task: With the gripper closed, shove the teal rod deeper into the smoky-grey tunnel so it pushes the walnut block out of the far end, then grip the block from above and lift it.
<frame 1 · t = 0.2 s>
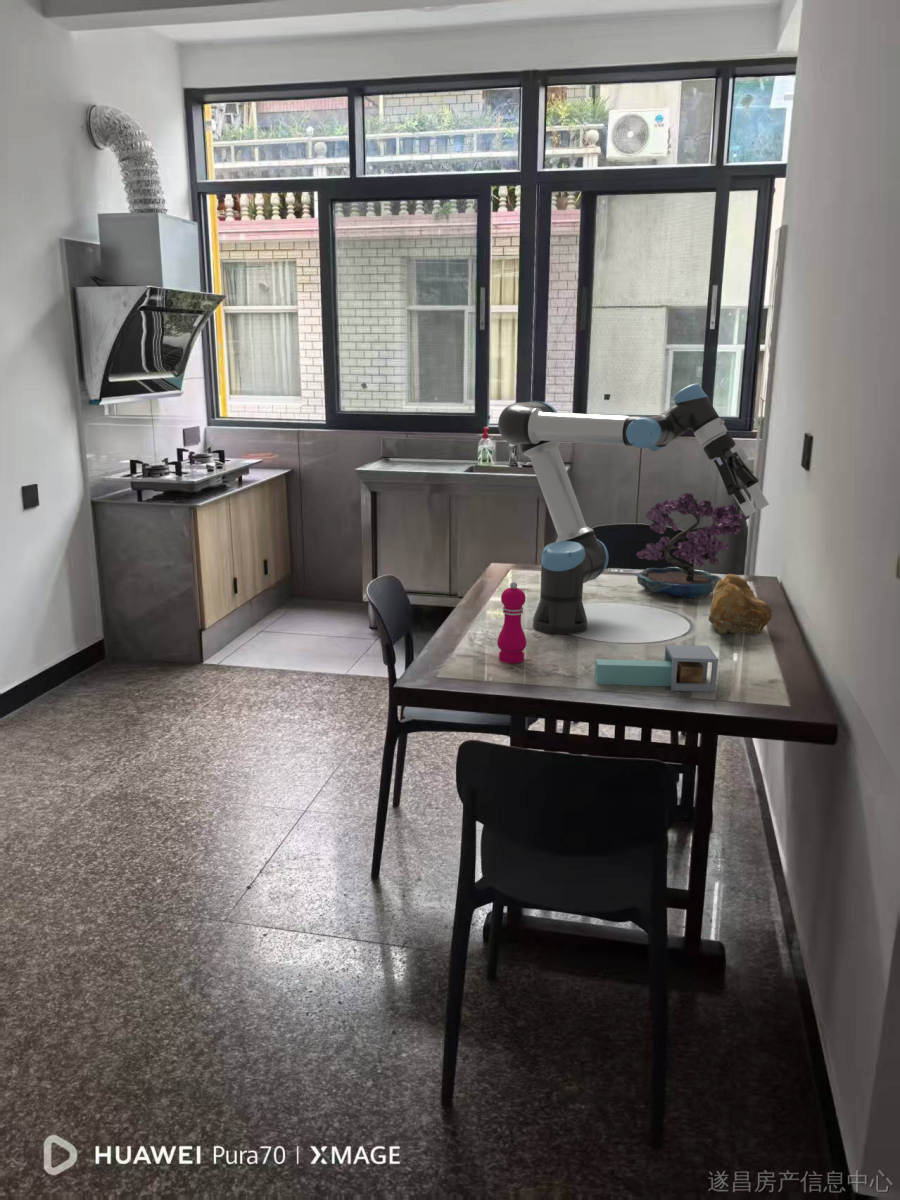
hand: (758, 510, 234), 36 cm above the table, tool tilted 35°, fingers open, 13 cm apart
teal rod: (634, 683, 213), on the table
pepper mill: (511, 660, 228), on the table
walnut block: (688, 684, 213), on the table
tunnel: (688, 683, 213), on the table
bonsai tree: (687, 593, 297), on the table
rough brown rock: (738, 630, 256), on the table
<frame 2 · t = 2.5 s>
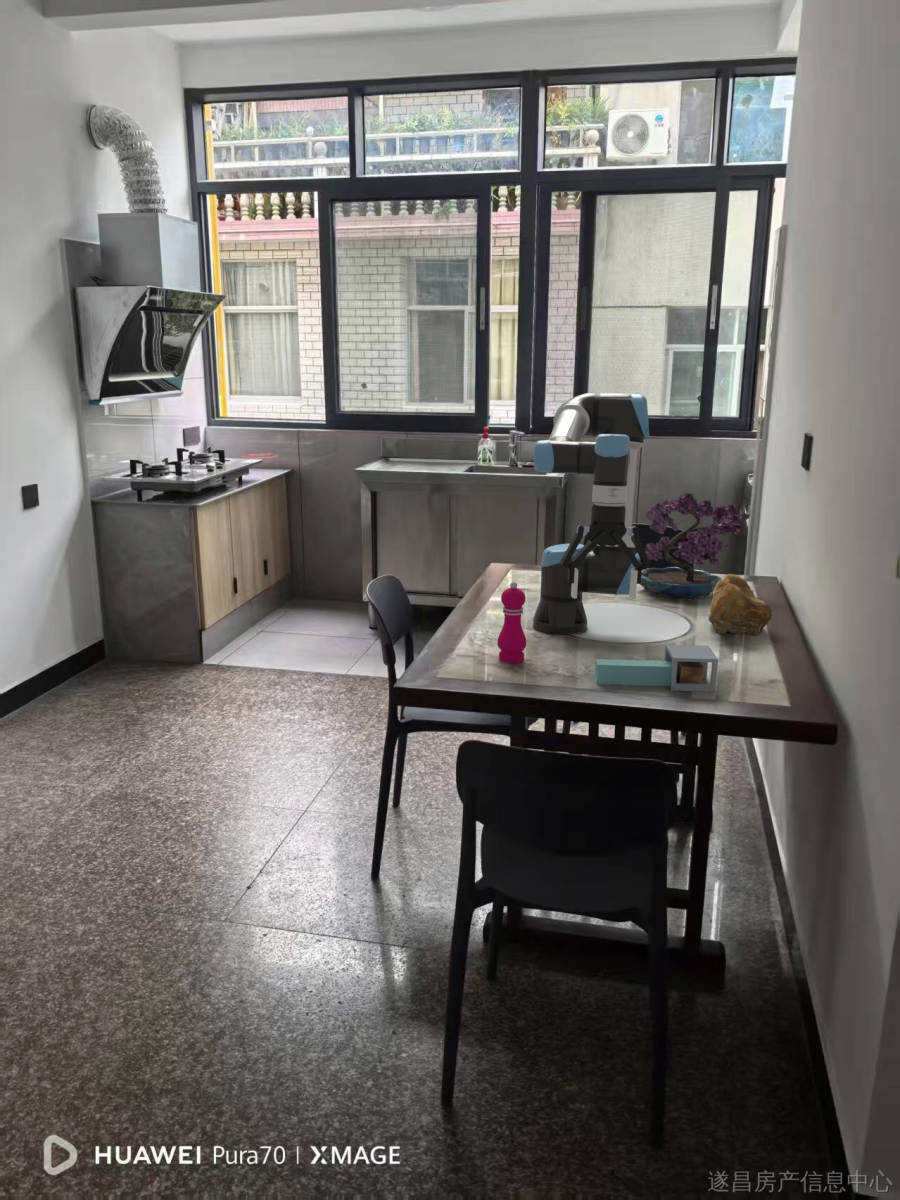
hand: (603, 597, 208), 20 cm above the table, tool pointing down, fingers open, 13 cm apart
nothing on the table moved.
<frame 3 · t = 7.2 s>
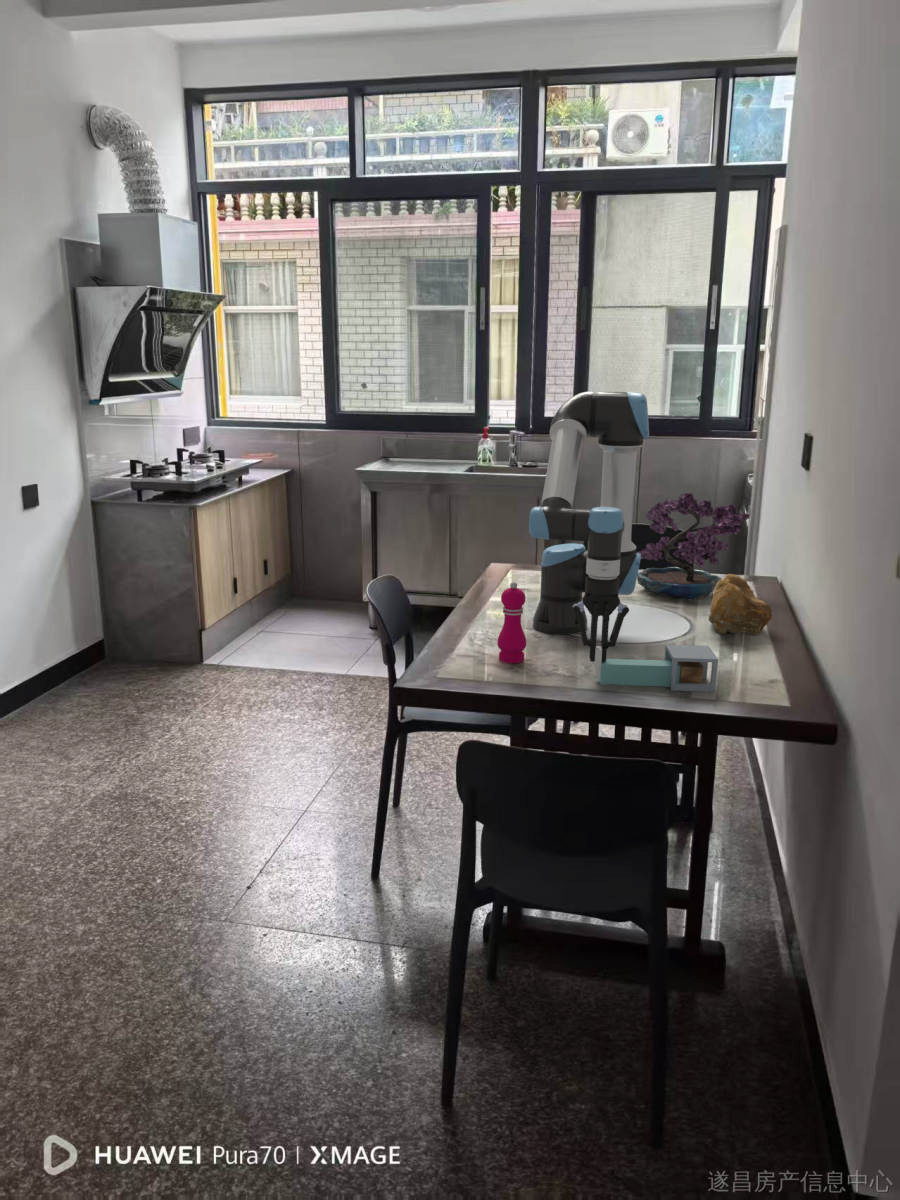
hand: (596, 674, 213), 2 cm above the table, tool pointing down, fingers closed
teal rod: (638, 682, 213), on the table, touching gripper
everything else where it was.
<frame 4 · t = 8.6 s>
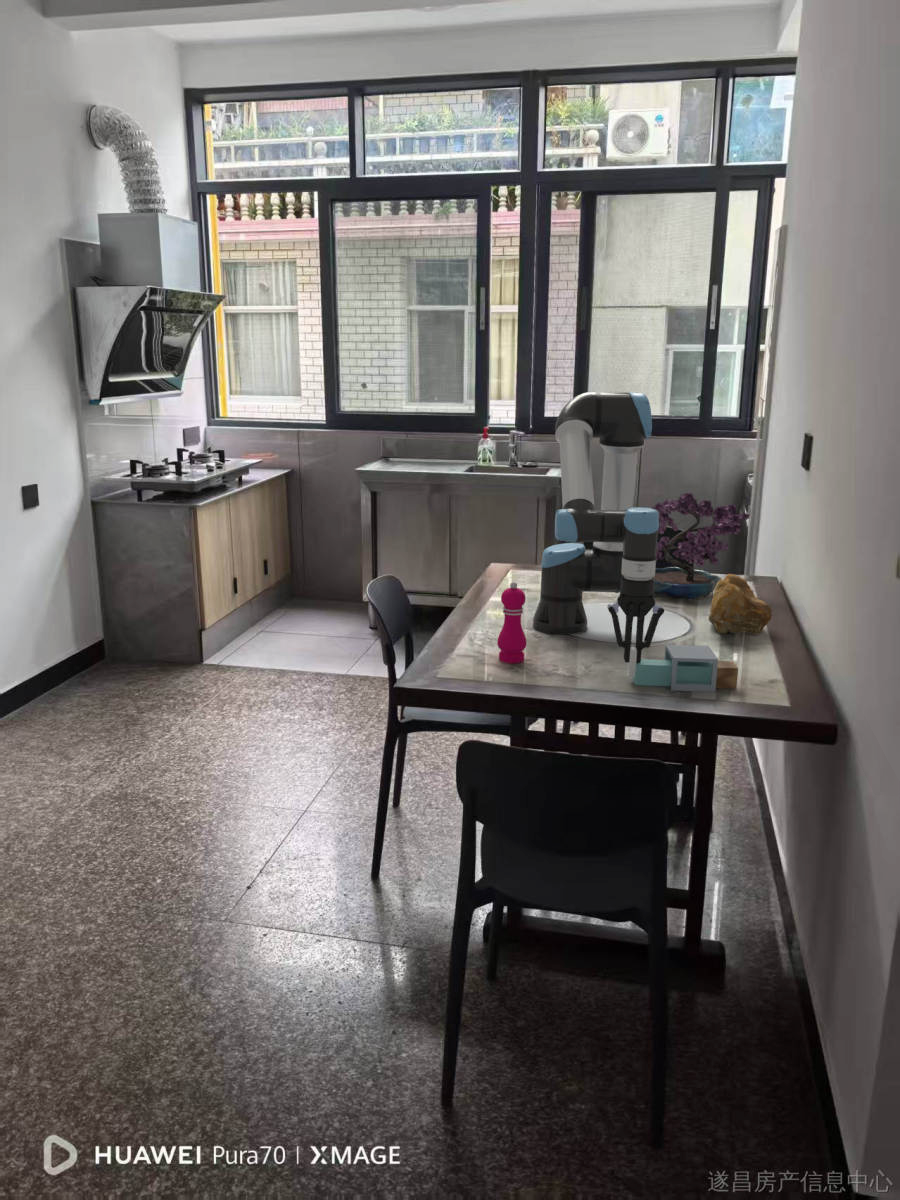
hand: (631, 675, 213), 2 cm above the table, tool pointing down, fingers closed
teal rod: (672, 683, 213), on the table, touching gripper, walnut block
walnut block: (722, 684, 212), on the table, touching teal rod
everything else where it was.
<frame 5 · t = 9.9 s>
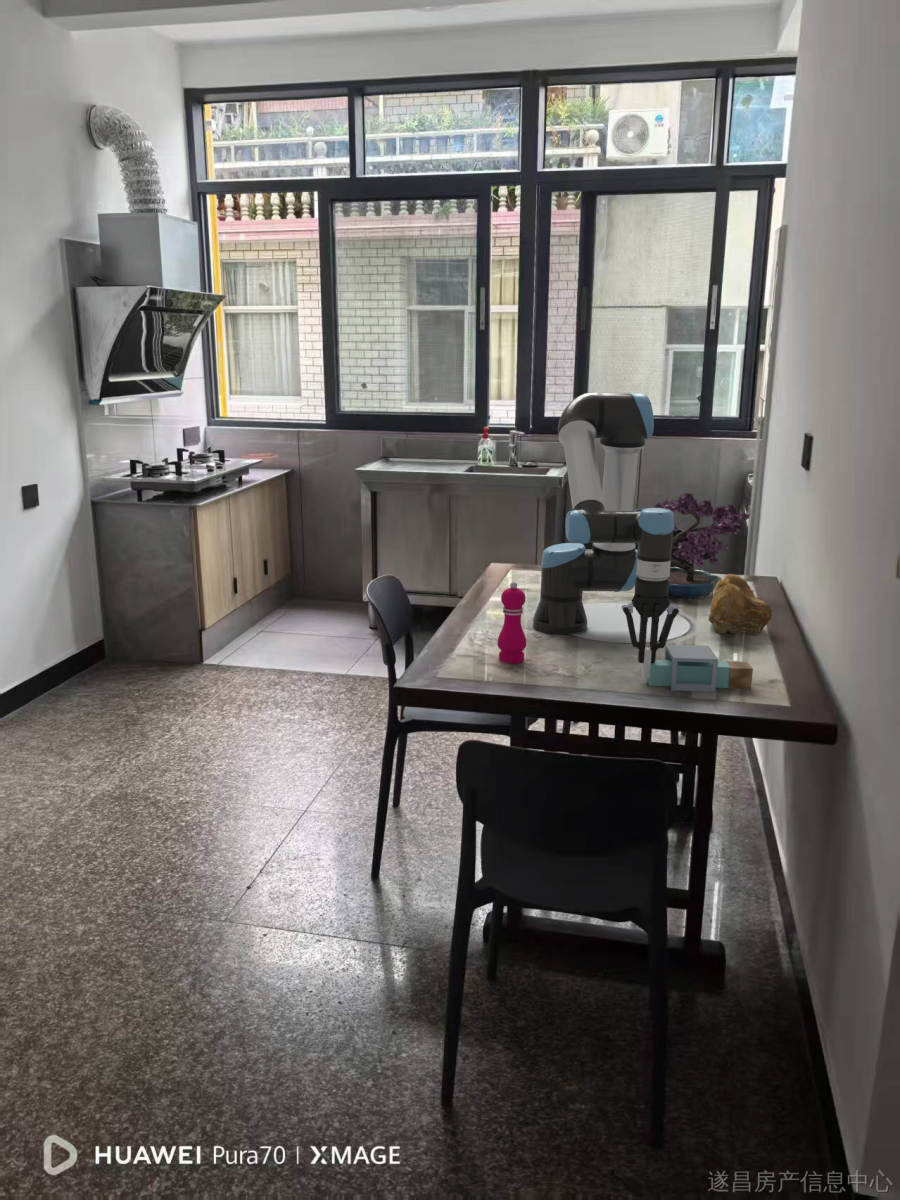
hand: (645, 675, 213), 2 cm above the table, tool pointing down, fingers closed
teal rod: (687, 683, 213), on the table, touching gripper, walnut block
walnut block: (737, 685, 212), on the table, touching teal rod
everything else where it was.
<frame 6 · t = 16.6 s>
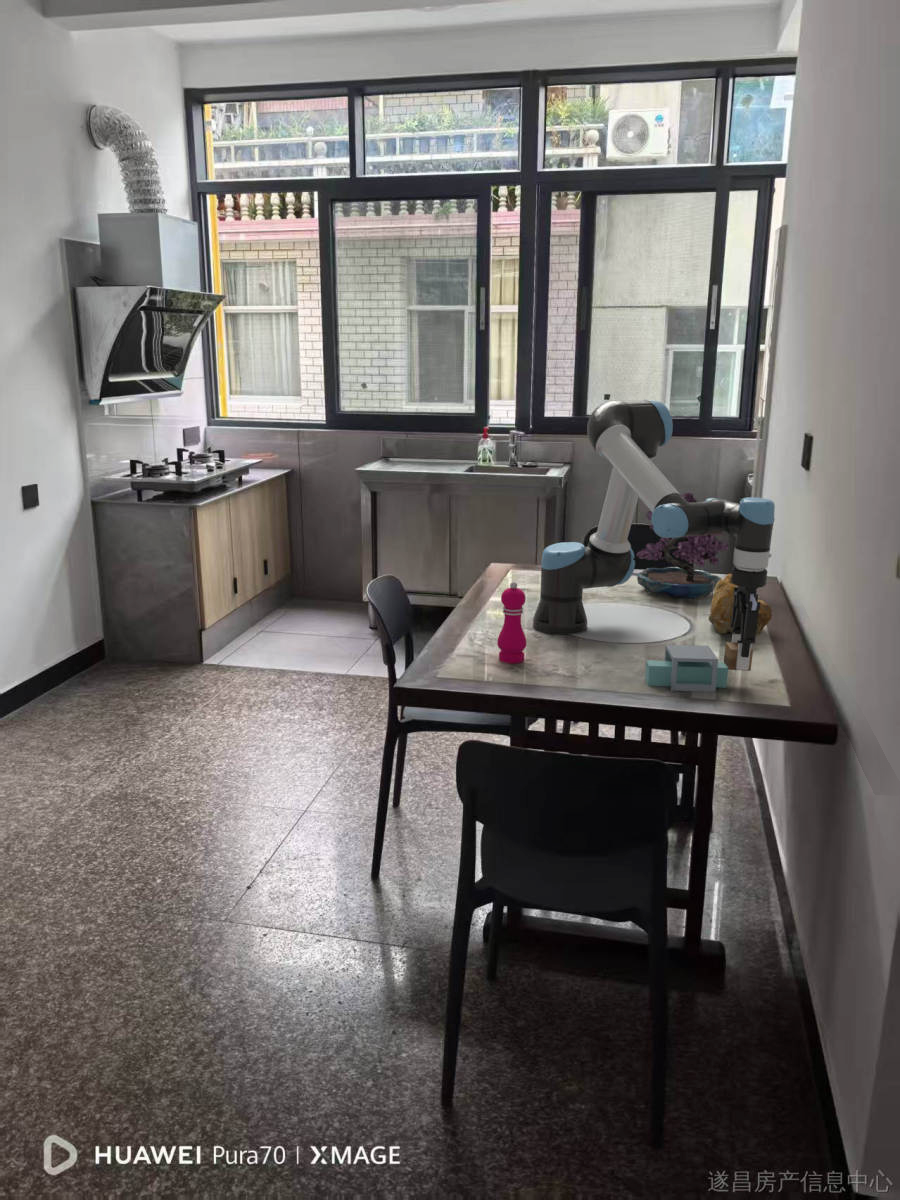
hand: (738, 664, 211), 5 cm above the table, tool pointing down, fingers closed on walnut block, 5 cm apart
teal rod: (685, 684, 213), on the table
walnut block: (736, 666, 212), point 4 cm above the table, touching gripper
everything else where it was.
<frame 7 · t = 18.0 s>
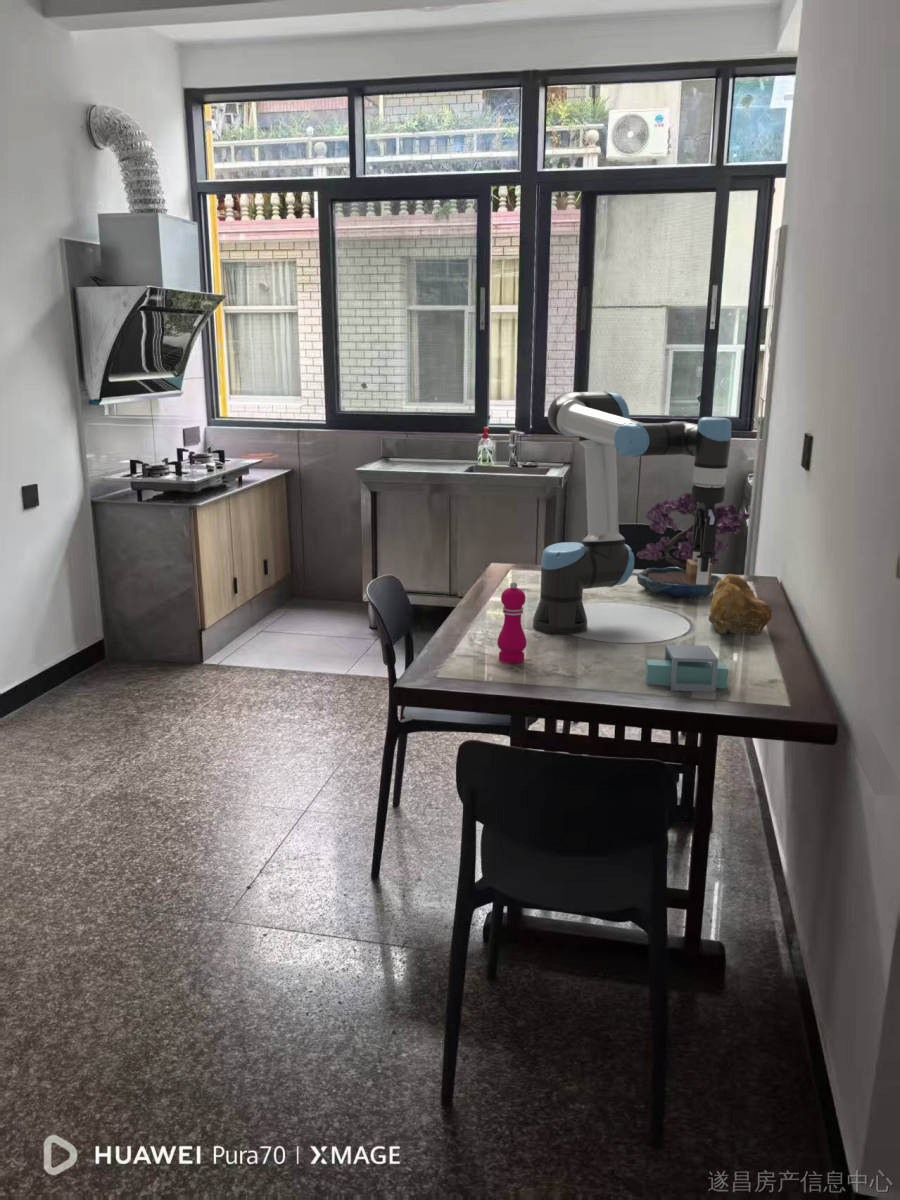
hand: (699, 580, 220), 21 cm above the table, tool pointing down, fingers closed on walnut block, 5 cm apart
walnut block: (697, 582, 220), point 21 cm above the table, touching gripper
everything else where it was.
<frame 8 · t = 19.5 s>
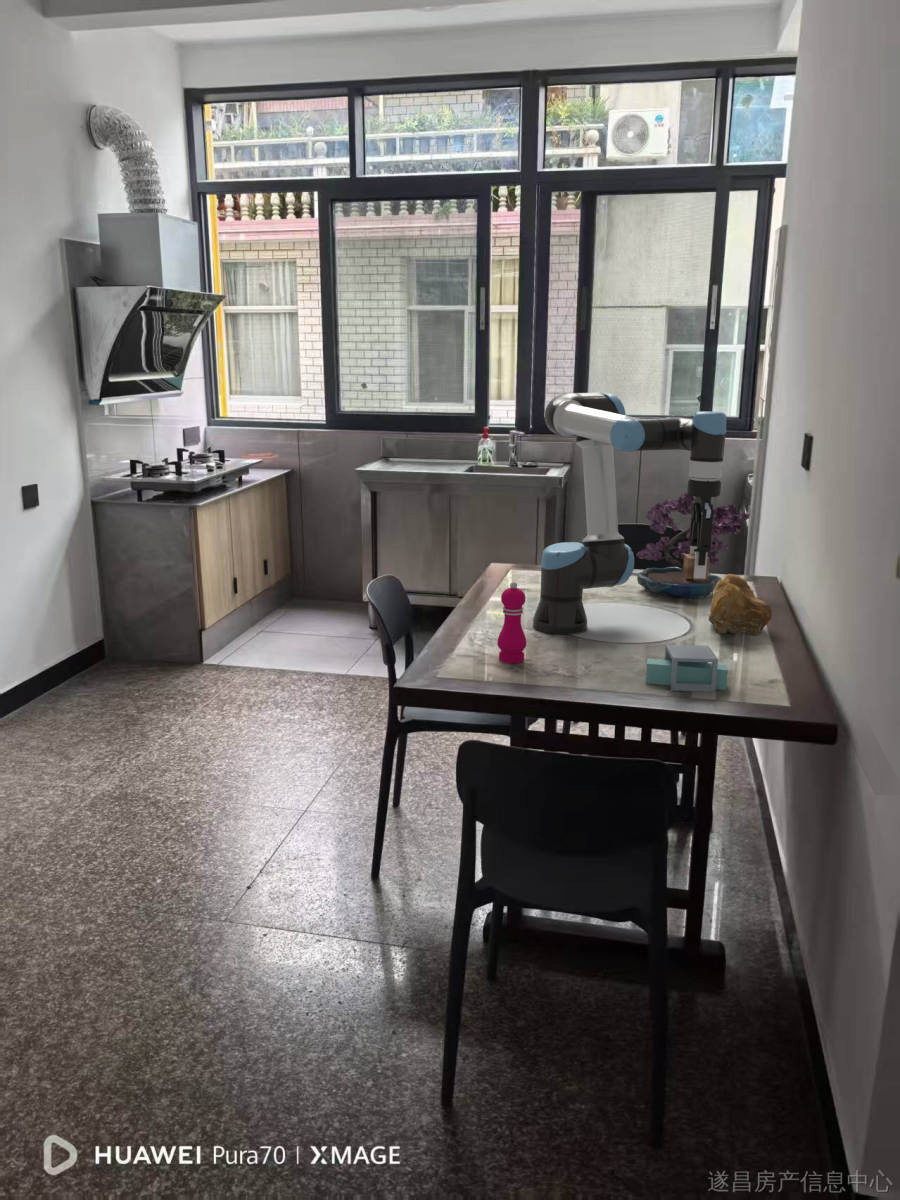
hand: (696, 575, 220), 23 cm above the table, tool pointing down, fingers closed on walnut block, 5 cm apart
walnut block: (695, 576, 220), point 22 cm above the table, touching gripper
everything else where it was.
at the end: the gripper is holding walnut block; walnut block point 22.4 cm above the table; teal rod moved 11.8 cm from its start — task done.
